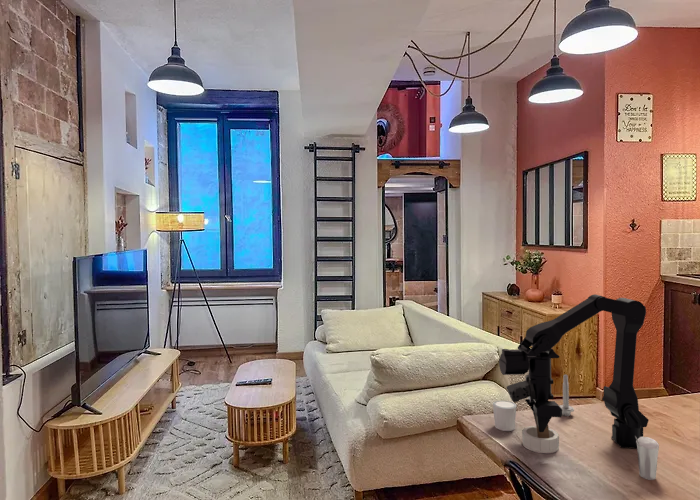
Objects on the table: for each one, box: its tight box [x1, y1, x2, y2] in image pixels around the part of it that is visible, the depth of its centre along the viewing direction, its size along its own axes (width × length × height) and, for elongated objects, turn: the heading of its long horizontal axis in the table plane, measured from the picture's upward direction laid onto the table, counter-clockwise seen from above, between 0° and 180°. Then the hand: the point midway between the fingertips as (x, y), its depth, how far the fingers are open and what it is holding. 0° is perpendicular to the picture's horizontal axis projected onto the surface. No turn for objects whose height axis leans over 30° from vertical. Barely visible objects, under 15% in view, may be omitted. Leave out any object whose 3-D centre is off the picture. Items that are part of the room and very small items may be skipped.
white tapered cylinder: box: [492, 400, 518, 432], centre depth 142 cm, size 7×7×7 cm
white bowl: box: [521, 425, 560, 454], centre depth 129 cm, size 9×9×4 cm
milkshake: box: [635, 436, 660, 481], centre depth 112 cm, size 4×5×10 cm
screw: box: [558, 374, 575, 417], centre depth 150 cm, size 13×5×5 cm
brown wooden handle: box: [535, 414, 549, 438], centre depth 129 cm, size 3×3×9 cm
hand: (540, 430), depth 129 cm, fingers closed
